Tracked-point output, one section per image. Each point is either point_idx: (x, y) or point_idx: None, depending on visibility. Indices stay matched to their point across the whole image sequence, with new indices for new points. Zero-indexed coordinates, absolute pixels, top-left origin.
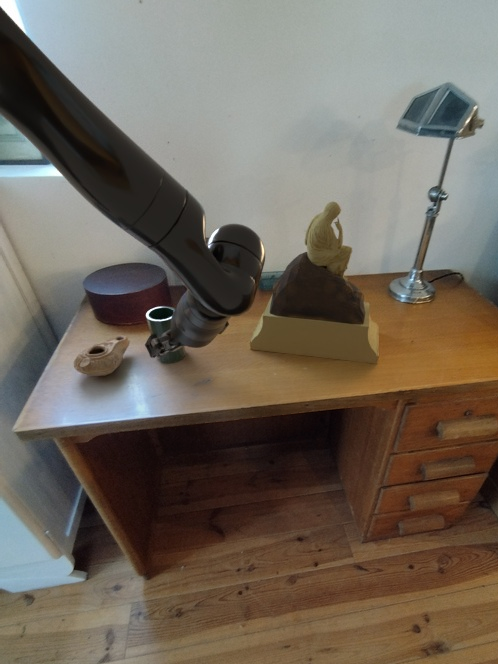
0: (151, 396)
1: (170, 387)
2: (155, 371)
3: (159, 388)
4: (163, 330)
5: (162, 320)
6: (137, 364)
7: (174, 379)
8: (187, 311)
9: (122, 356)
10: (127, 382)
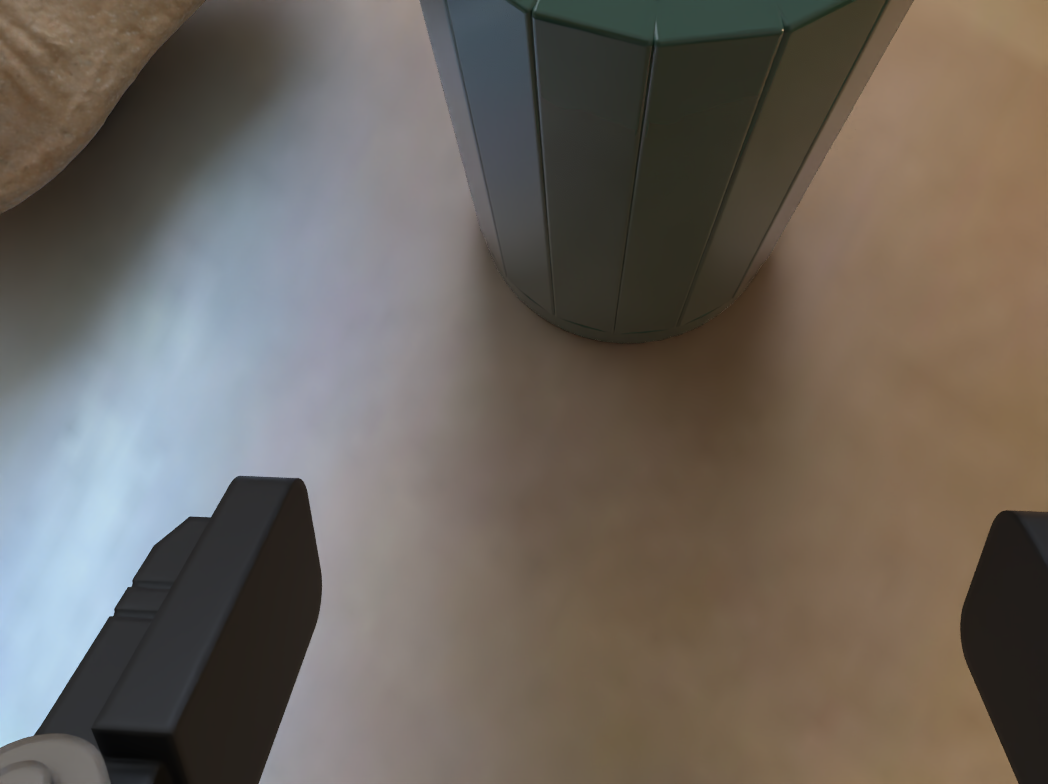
0: None
1: (356, 707)
2: (371, 363)
3: None
4: (546, 133)
5: (571, 9)
6: (294, 158)
7: (453, 608)
8: None
9: (133, 70)
10: (91, 363)
